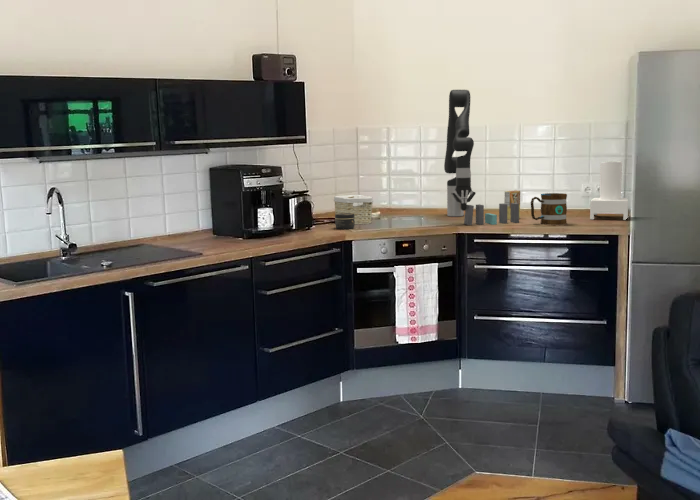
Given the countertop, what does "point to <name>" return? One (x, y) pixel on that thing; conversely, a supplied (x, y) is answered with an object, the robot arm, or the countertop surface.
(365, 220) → the storage basket
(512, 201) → the candy box
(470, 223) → the domino
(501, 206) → the domino
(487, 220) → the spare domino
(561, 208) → the mug
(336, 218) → the jar
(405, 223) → the countertop surface
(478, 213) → the domino
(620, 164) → the paper towel holder
